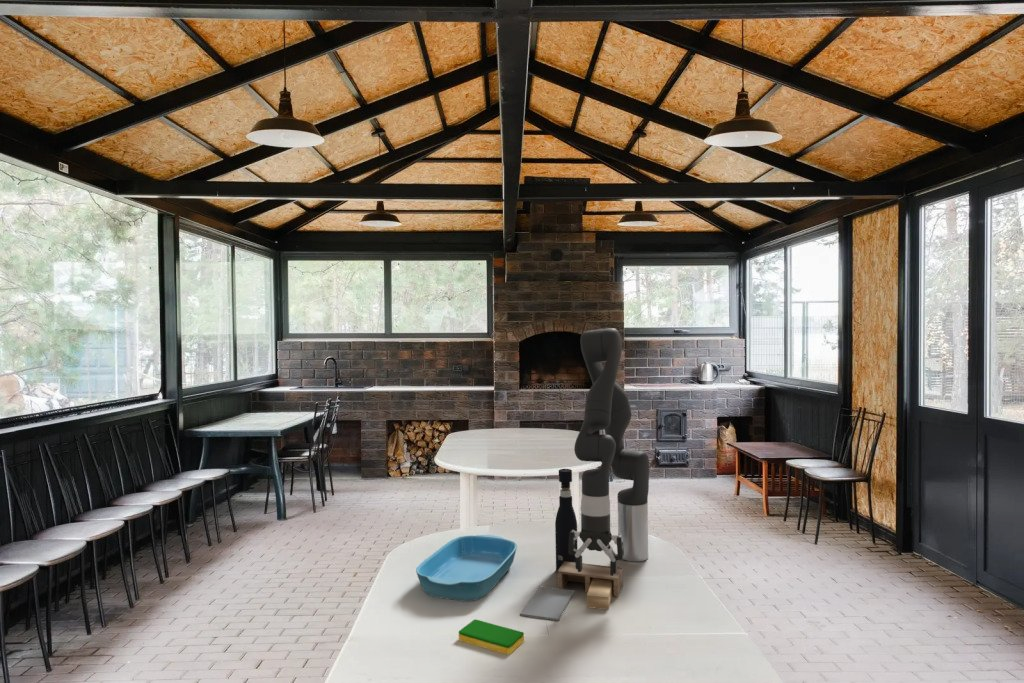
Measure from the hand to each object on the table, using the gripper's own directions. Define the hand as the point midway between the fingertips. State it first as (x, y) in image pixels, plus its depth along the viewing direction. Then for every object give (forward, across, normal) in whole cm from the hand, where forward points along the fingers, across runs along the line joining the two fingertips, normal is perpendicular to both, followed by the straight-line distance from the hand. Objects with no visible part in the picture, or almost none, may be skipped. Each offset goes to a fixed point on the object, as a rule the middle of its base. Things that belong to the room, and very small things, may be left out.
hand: (596, 572), depth 162 cm
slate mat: (+8, +12, +4) cm, 15 cm away
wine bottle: (+8, +13, -18) cm, 24 cm away
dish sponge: (+9, +19, +26) cm, 33 cm away
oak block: (+8, 0, -4) cm, 9 cm away
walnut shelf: (+8, +4, -9) cm, 12 cm away
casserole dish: (+9, +38, -5) cm, 39 cm away
